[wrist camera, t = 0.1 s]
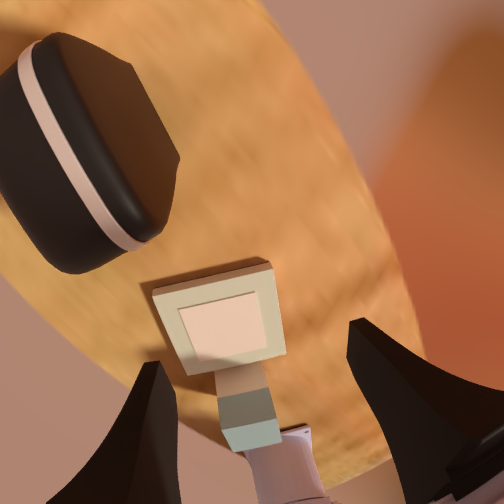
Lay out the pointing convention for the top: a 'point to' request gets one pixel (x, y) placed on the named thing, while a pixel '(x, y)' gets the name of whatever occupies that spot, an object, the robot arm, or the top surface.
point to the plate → (223, 319)
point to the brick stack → (246, 407)
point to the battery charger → (82, 154)
